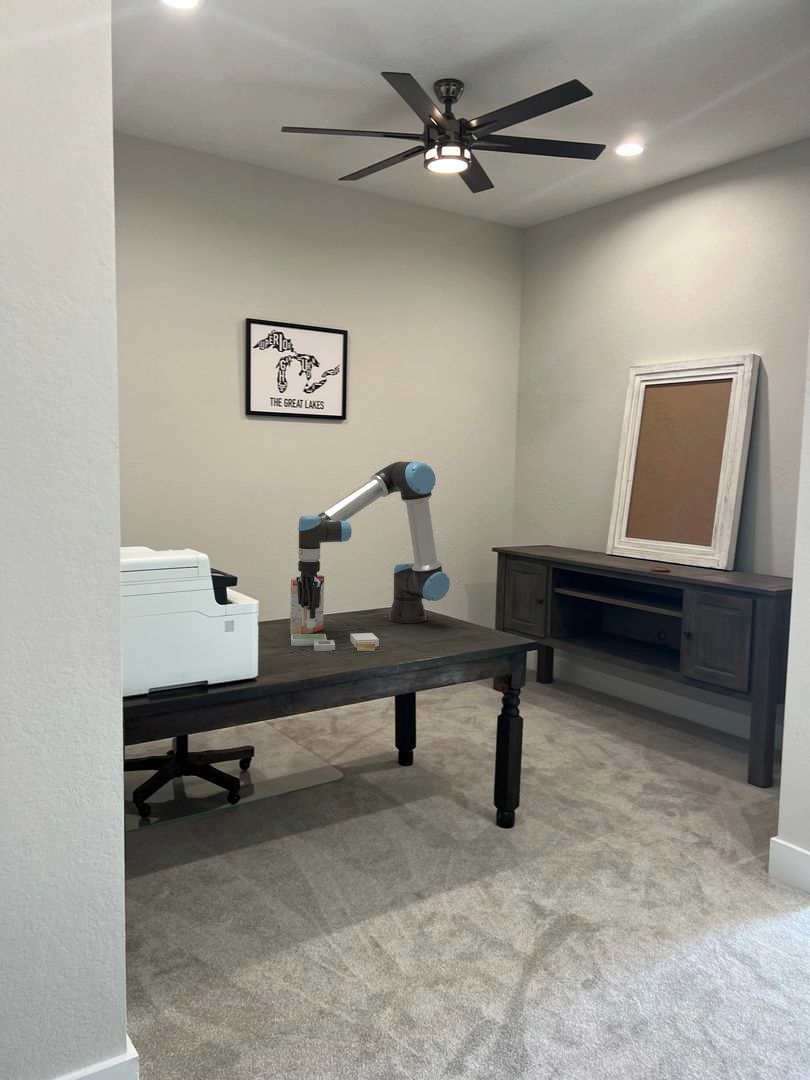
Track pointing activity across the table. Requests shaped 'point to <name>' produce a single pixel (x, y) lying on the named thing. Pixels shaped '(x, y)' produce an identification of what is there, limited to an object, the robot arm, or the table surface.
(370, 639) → the white rectangular block
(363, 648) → the wooden block
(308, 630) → the pestle
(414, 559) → the robot arm
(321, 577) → the cracker box
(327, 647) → the holder
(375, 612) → the table surface
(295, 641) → the tray
